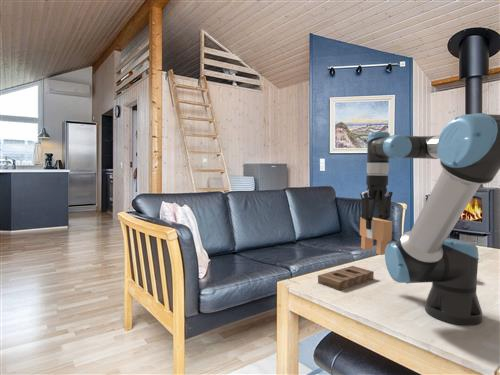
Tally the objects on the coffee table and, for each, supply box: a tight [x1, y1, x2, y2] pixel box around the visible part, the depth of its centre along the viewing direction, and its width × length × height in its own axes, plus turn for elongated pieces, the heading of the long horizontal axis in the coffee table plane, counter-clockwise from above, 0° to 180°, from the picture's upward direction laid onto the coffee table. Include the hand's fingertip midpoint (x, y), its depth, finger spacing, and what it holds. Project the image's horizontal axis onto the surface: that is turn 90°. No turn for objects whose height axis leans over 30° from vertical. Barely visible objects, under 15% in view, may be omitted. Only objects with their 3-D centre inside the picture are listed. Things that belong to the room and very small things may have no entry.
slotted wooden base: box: [317, 265, 375, 291], centre depth 136 cm, size 22×10×3 cm, turn 127°
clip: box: [359, 216, 393, 256], centre depth 127 cm, size 12×4×12 cm, turn 23°
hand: (375, 237), depth 127 cm, fingers closed on clip, 4 cm apart
